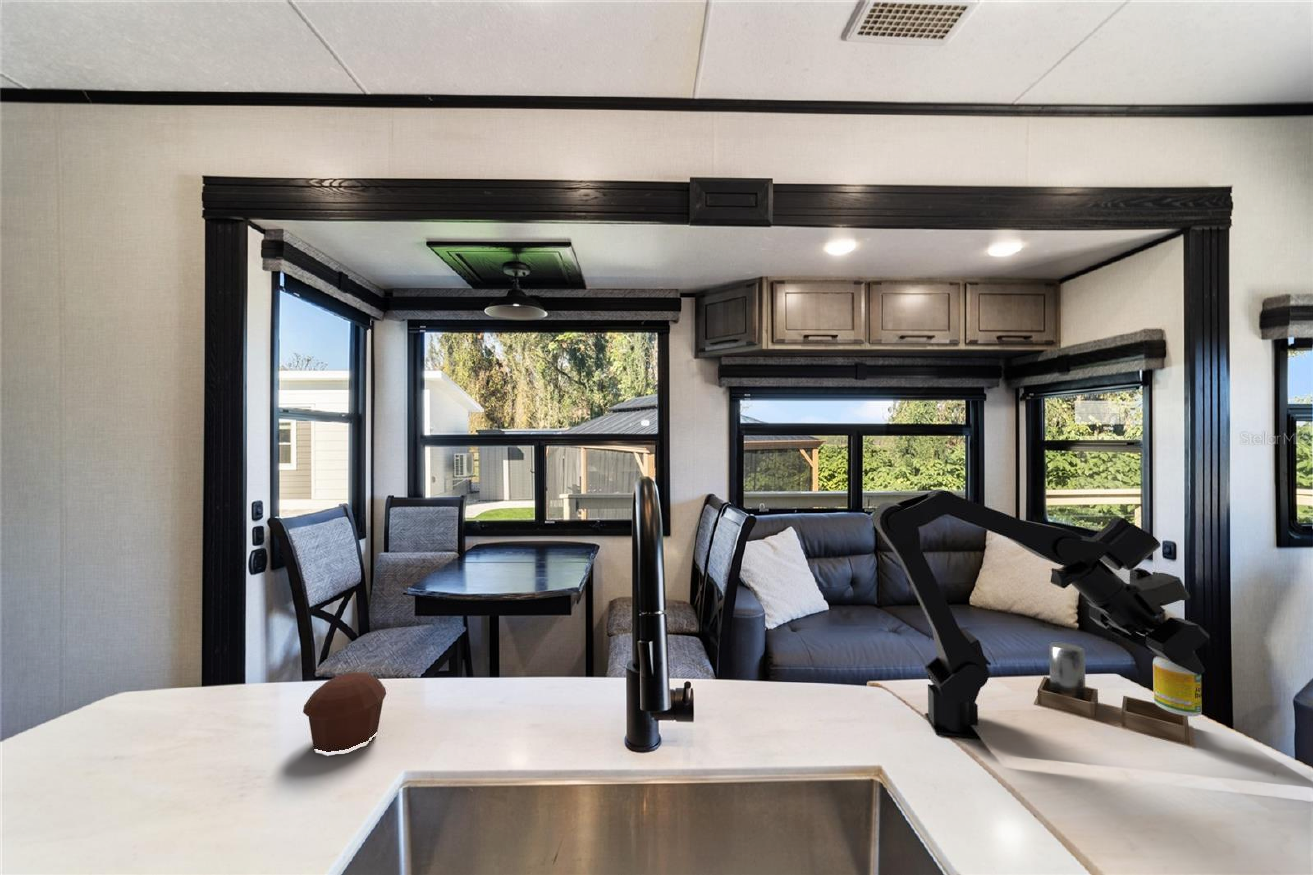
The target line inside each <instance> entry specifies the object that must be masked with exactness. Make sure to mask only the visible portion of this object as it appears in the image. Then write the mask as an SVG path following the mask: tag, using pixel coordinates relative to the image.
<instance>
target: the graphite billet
mask: <svg viewBox="0 0 1313 875" xmlns="http://www.w3.org/2000/svg"><path fill="white" fill-rule="evenodd" d="M1048 646H1049V648H1048V649H1049V650H1048V651H1049V652H1048V654H1049V678H1050V692H1052V693H1056V694H1060V695H1064V696H1068V697H1072V698H1076V699H1080V700H1083V701H1086V687H1087V686H1086V658H1085V657H1086V656H1085V654H1086V652H1085V649H1084V648H1083V647H1081V646H1078V645H1076V644H1072V643H1067V642H1060V641H1059V642H1058V641H1057V642H1056V641H1054V642H1050V643H1049V644H1048ZM1085 686H1086V687H1085Z"/></svg>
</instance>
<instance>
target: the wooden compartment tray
mask: <svg viewBox="0 0 1313 875" xmlns="http://www.w3.org/2000/svg"><path fill="white" fill-rule="evenodd" d="M1085 687H1086V701H1083V700H1080V699H1076V698H1072V697H1068V696H1064V695H1060V694H1056V693H1052V692H1050V677H1047V676H1043V678H1042V679H1041V682H1040V684H1039V686H1038V688H1037V689H1036V690H1037V695H1036V698H1035V700H1034V702H1033V703H1032V705H1035V706H1038V707H1042V708H1046V709H1048V710H1053V711H1057V712H1060V713H1064V714H1068V715H1070V716H1074V717H1078V718H1081V719H1085V720H1090V721H1093V722H1097V723H1100V724H1103V725H1104V724H1105V725H1108V726H1112V727H1115V728H1119V729H1122V730H1127V731H1129V732H1134V733H1137V734H1141V735H1145V736H1148V737H1151V738H1155V739H1159V740H1163V741H1167V742H1171V743H1175V744H1178V745H1182V746H1185V747H1189V748H1192V749H1196V744H1195V736H1194V730H1193V725H1190V724H1189V716H1184V715H1179V714H1175V713H1172V712H1169V711H1166V710H1164V709H1162V708H1160V707H1159V706H1157V705H1156V704H1155V702H1154V701H1148V700H1144V699H1140V698H1135V697H1131V696H1127V695H1123V696H1122V704H1121V707H1119V706H1114V705H1111V704H1107V703H1102V702H1099V691H1098V689H1097V688H1094V687H1090V686H1086V685H1085Z"/></svg>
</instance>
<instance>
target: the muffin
mask: <svg viewBox="0 0 1313 875" xmlns="http://www.w3.org/2000/svg"><path fill="white" fill-rule="evenodd" d="M386 690H387V689H386V687H385V686H384V685H383V683H382V681H381V680H379V678H377V677H375V676H373V675H371V674H369V673H364V672H357V671H355V672H347V673H343V674H339V675H337V676H335V677H333V678H331V679H329V680H327V681H326V682H324V683H323V684H321V686H320V687H318V688H317V689H316V690H314V691H313V693H312V694H311V695H310V696H309V698H308V699H307V700H306V702H305V704H304V705H303V710H302V713H303V714H304V715H306V717H308V721H309V723H308V724H309V728H310V734H311V741H312V742H311V743H312V748H313V750H314V749H318V750H322V751H326V752H331V751H339V750H345V749H349V748H351V747H353V746H356V745H358V744H360V743H363V742H366V741H368V740H369V738H370V737H372V736H373V735H374V734H375V733H376V732H377V733H378V730H379V726H380V725H379V724H380V720H381V715H382V714H381V713H382V709H383V704H384V700H385V698H386V695H387V692H386Z"/></svg>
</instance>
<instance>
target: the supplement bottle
mask: <svg viewBox="0 0 1313 875" xmlns="http://www.w3.org/2000/svg"><path fill="white" fill-rule="evenodd" d="M1152 673H1153V674H1152V678H1153V679H1152V680H1153V681H1152V682H1153V686H1152V687H1153V703H1155V704H1156V705H1157V706H1159V707H1160V708H1162V709H1164V710H1166V711H1169V712H1172V713H1175V714H1179V715H1184V716H1188V717H1198V716H1201V714H1202V711H1203V708H1202V706H1203V705H1202V702H1203V701H1202V674H1201V675H1198V674H1196V673H1193V672H1191V671H1189V670H1187V669H1185V668H1183V667H1181V666H1178V665H1176V664H1174V663H1172V662H1170V661H1168V660H1166V659H1163V658H1161V657H1159V656H1157V655H1155V657H1154V658H1153V660H1152Z"/></svg>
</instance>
